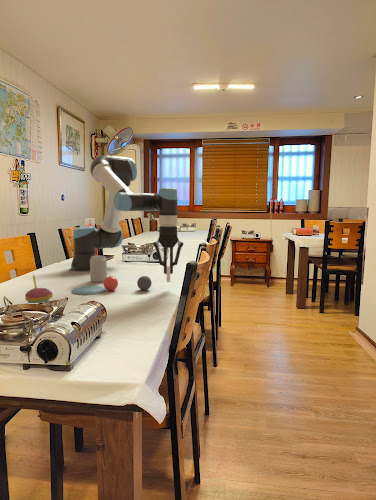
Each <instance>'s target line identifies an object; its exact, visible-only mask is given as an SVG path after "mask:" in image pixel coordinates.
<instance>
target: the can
mask: <svg viewBox="0 0 376 500" xmlns="http://www.w3.org/2000/svg"><path fill="white" fill-rule="evenodd" d="M91 257H92V258H91V259H90V270H89V273H90V275H89V276H90V281H91V282H92V283H96V284H99V283H103V282H104V280H105V278H107V277H108V272H107V271H108V269H107V268H108V267H107V265H108V263H107V258H106V256H105V255H100V254H99V255H97V254H96V256H91Z"/></svg>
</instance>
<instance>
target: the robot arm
mask: <svg viewBox="0 0 376 500" xmlns="http://www.w3.org/2000/svg"><path fill="white" fill-rule="evenodd" d="M137 169H138V168H137V165H136V162H135V161H134V159H133V158H131V157H126V156H118V155H116V156H115V155H107V154H106V155H105V154H103V155H99V156H97V157H96V158H94V159H93V161H92V162H91V163H90V166H89V172H90V174H91V176H92V178H93V179H94V180H95V181H96V182H98V183H100V184H101V186H103V187H104V188H105V190H106V191H107V192H108V194H107V200H106V205H105V210H104V217H103V221H102V222H101V223H100V224H99V227H96V226H94V225H86V226H79V227H76V228H75V229H74V230H73V234H72V238H73V239H72V240H73V258H72V260H71V261H72V262H71V265H70V269H71V270H73V271H79V272H80V271H83V272H84V271H85V272H87V271H90V259H91V258H92V257H91V256H97V251H96V250H99V249H114V248H118V247H120V246H121V244H122V243H123V239H124V233H123V230H122V227H121V226H120V220H121V216H122V212H158V222H159V223H158V224H159V226H158V233H159V234H158V238H157V240H156V241H155V242H153V243H152V245H153V246H154V248H155V251H156V255H157V259H158V263H159V266H162V267H163V274H164V275H166V283H170V282H171V275H172V274H174V266H177V265H178V262H179V258H180V255H181V254H180V253H181V251H182V247H183V246H184V242H183V241H181V240H179V237H178V226H177V225H178V199H179V197H178V190H177V188H175V187H161V188H159V189H158V192H157V193H150V192H149V193H148V192H147V193H145V192H144V193H143V192H142V193H141V192H133V191H132V190H131V189H130V188H129V187H130V186H131V182H135V180H136V179H137V176H138V170H137ZM160 245H161V247H162V248H163V260H162V255H161V252H160V251H161V250H160V247H159V246H160ZM176 245H177V250H176V253H175V257H174V247H176ZM168 249H169V265H168V255H167V254H168Z"/></svg>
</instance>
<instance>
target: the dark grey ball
mask: <svg viewBox="0 0 376 500" xmlns="http://www.w3.org/2000/svg"><path fill="white" fill-rule="evenodd" d="M136 283H137V287H138V289H140V290H142V291H147V290H149V289H150V288H151V286H152V280H151V278H150V277H149V276H147V275H142V276H140V277H139V278H138V279H137V282H136Z"/></svg>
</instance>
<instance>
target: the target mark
mask: <svg viewBox="0 0 376 500" xmlns="http://www.w3.org/2000/svg"><path fill="white" fill-rule="evenodd" d="M106 291H107V289H105V287H104V286H99V285H89V286H79V287H76V288H73V289H72V290H71V293H72V294H73V295H78V296H92V295H93V296H94V295H100V294H103V293H104V292H106Z"/></svg>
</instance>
